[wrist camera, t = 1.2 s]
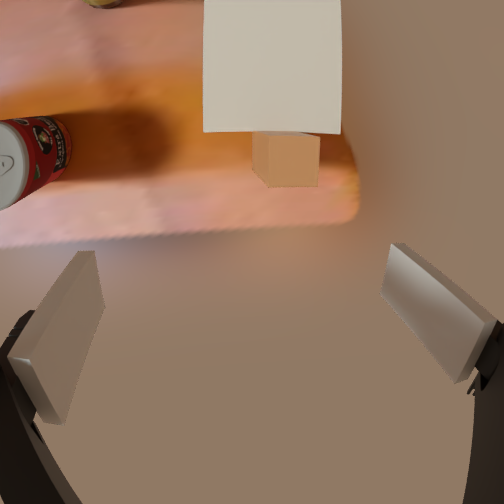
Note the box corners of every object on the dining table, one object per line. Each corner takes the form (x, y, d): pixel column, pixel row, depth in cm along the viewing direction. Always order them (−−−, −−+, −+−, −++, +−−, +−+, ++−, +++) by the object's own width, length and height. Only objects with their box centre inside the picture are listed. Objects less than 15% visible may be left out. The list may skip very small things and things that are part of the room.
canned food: (84, 162, 30) (39, 186, 20) (32, 194, 30) (-19, 227, 20) (59, 101, 27) (6, 102, 17) (8, 138, 27) (-50, 154, 17)
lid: (206, -46, 19) (210, -90, 12) (329, -35, 21) (366, -67, 13) (204, 169, 28) (205, 189, 21) (329, 167, 30) (369, 187, 22)
